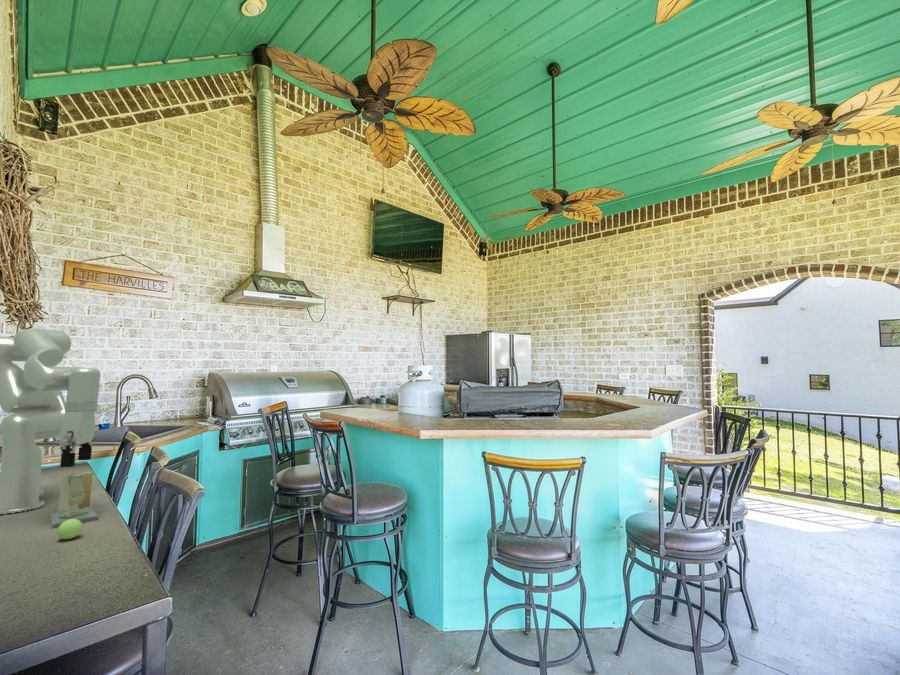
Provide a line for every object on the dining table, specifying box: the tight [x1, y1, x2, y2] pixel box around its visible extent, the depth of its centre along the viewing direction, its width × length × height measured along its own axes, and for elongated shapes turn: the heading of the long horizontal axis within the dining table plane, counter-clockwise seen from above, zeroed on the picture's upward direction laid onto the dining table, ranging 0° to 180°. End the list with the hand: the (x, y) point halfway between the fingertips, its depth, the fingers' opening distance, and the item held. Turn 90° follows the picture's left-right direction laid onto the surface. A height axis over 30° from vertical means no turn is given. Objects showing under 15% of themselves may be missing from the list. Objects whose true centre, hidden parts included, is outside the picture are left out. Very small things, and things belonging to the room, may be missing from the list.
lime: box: [56, 519, 84, 541], centre depth 111 cm, size 5×5×5 cm
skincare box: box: [57, 471, 93, 518], centre depth 129 cm, size 6×4×12 cm
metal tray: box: [49, 506, 99, 529], centre depth 128 cm, size 14×10×1 cm
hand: (76, 463), depth 130 cm, fingers open, 9 cm apart
